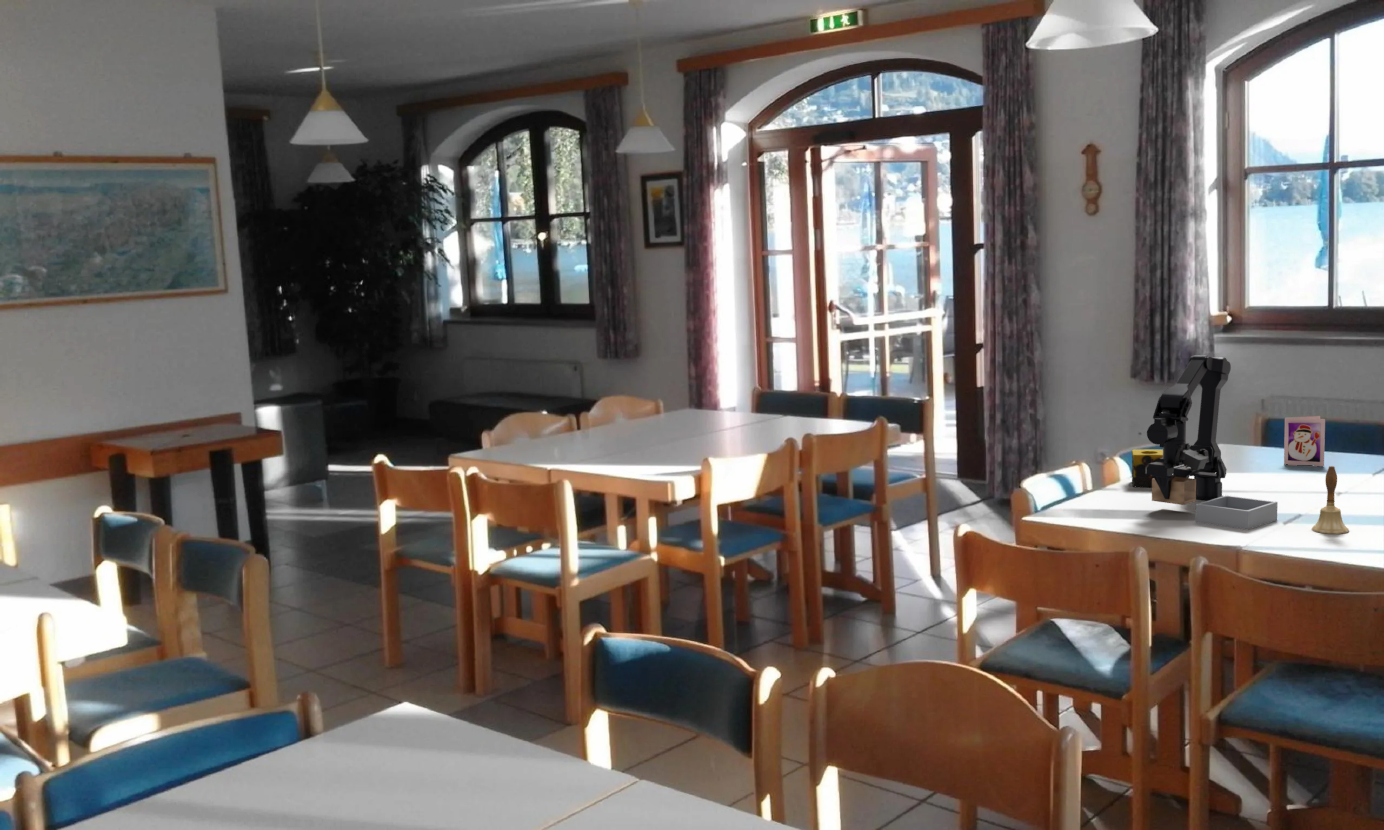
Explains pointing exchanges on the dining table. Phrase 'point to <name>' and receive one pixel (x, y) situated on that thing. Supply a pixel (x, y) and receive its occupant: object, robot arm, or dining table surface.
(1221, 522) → the grey crate
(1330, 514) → the hand bell
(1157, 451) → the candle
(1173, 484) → the walnut crate
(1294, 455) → the greeting card
